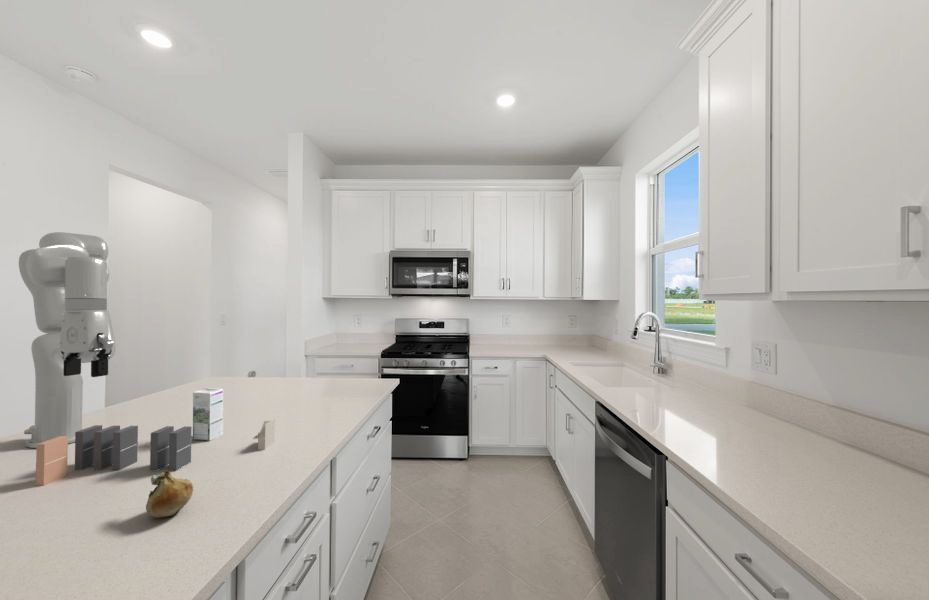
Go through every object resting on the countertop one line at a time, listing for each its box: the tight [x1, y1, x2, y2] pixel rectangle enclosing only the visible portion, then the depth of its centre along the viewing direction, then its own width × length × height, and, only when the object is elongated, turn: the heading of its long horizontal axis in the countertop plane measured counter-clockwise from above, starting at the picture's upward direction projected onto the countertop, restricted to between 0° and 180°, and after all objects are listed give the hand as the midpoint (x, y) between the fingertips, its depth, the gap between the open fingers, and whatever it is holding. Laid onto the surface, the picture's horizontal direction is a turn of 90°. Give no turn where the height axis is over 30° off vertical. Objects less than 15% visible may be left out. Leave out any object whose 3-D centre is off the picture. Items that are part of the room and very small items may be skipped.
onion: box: [145, 470, 194, 519], centre depth 74 cm, size 8×8×8 cm
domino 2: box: [74, 424, 103, 471], centre depth 95 cm, size 2×5×9 cm, turn 0°
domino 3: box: [93, 425, 121, 471], centre depth 95 cm, size 2×5×9 cm, turn 0°
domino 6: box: [168, 426, 192, 471], centre depth 95 cm, size 2×5×9 cm, turn 0°
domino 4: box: [111, 425, 139, 471], centre depth 95 cm, size 2×5×9 cm, turn 0°
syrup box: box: [192, 387, 224, 442], centre depth 115 cm, size 6×6×14 cm
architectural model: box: [252, 418, 276, 451], centre depth 110 cm, size 3×7×7 cm, turn 2°
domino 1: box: [35, 436, 69, 487], centre depth 87 cm, size 2×5×9 cm, turn 0°
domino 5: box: [149, 425, 175, 471], centre depth 95 cm, size 2×5×9 cm, turn 0°
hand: (85, 375), depth 94 cm, fingers open, 9 cm apart
